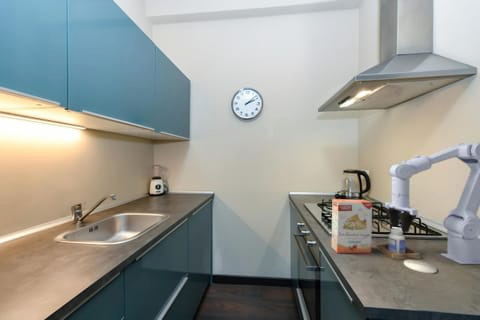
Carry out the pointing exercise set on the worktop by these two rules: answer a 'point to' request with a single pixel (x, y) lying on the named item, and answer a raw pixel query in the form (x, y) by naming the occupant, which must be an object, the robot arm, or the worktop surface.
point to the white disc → (420, 266)
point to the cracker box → (351, 226)
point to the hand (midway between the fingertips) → (400, 229)
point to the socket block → (411, 254)
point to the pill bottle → (396, 241)
